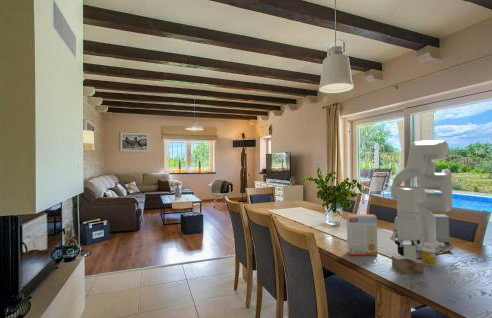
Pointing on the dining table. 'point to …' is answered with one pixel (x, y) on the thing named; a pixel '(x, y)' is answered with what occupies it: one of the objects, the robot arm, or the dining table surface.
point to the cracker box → (362, 234)
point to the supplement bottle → (429, 254)
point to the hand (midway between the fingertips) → (407, 254)
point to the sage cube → (409, 250)
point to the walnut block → (408, 265)
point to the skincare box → (442, 228)
